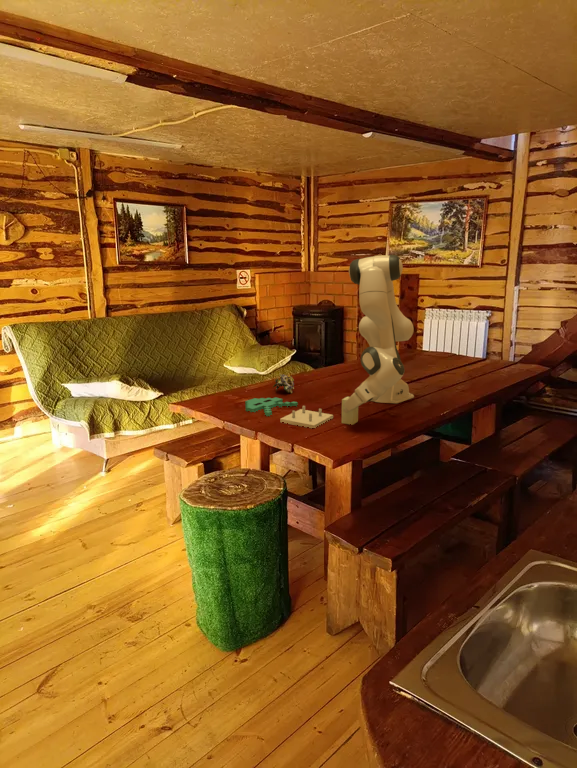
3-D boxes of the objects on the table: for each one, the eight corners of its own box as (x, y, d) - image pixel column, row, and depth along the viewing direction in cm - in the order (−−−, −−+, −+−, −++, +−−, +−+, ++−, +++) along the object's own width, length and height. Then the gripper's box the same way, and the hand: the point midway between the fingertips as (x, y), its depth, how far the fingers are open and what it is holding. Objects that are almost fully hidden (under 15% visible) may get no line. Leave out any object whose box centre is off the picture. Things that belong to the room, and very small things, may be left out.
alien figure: (297, 406, 250) (264, 399, 262) (297, 402, 249) (264, 395, 261) (268, 417, 235) (235, 409, 247) (268, 412, 234) (234, 404, 246)
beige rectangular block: (347, 419, 230) (347, 396, 227) (357, 421, 227) (358, 398, 225) (341, 422, 226) (341, 399, 223) (352, 424, 223) (353, 401, 221)
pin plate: (300, 412, 240) (300, 402, 239) (333, 418, 232) (333, 408, 230) (280, 422, 227) (280, 411, 226) (314, 428, 218) (314, 418, 217)
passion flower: (290, 403, 272) (291, 388, 263) (269, 398, 274) (269, 383, 265) (296, 386, 279) (297, 371, 270) (275, 381, 281) (276, 366, 272)
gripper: (377, 377, 227) (355, 397, 234) (355, 388, 210) (332, 409, 218) (386, 389, 226) (364, 409, 233) (365, 401, 209) (342, 422, 217)
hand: (348, 409), depth 225 cm, fingers closed on beige rectangular block, 5 cm apart
